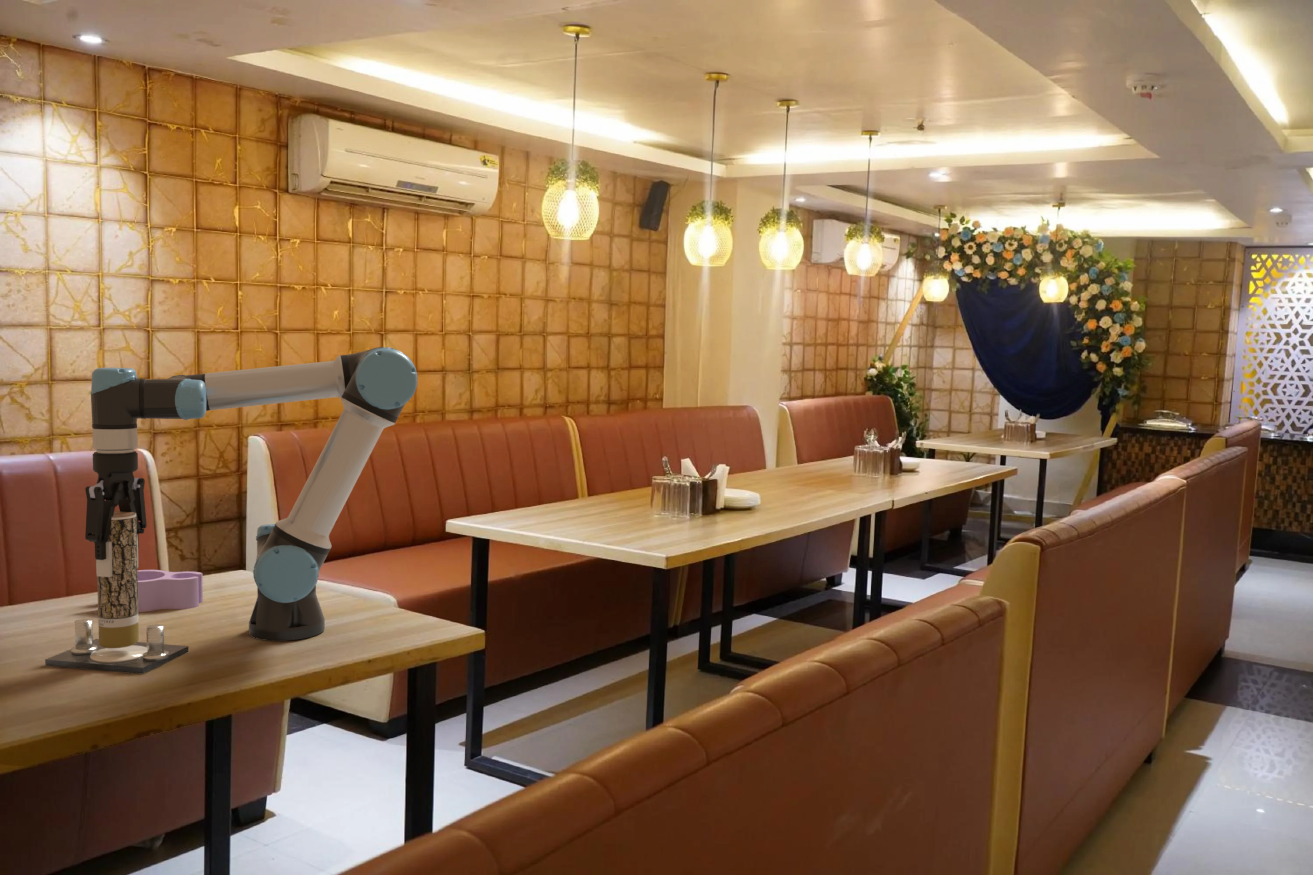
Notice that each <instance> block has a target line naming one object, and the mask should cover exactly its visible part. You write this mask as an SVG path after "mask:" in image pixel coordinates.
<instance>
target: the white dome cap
mask: <svg viewBox="0 0 1313 875" xmlns="http://www.w3.org/2000/svg"><path fill="white" fill-rule="evenodd" d="M145 652H147V648H146V647H143V646H135V645H132V646H128V647H123V648H104V649H101V650H98V651H95V652H93V653H92V654H91V655H90V659H91V660H93V661H96V662H103V663H114V662H125V661H130V660H135V659H139V658H141V657H143V653H145Z"/></svg>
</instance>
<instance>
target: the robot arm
mask: <svg viewBox="0 0 1313 875" xmlns="http://www.w3.org/2000/svg"><path fill="white" fill-rule="evenodd" d="M418 378H419V377H418V372H417V368H416V366H415V363H414V362H413V361H412V359H411V358H409V356H408V355H407V354H405V353H403V352H402V351H401V350H398V349H396V348H393V347H385V346H384V347H382V346H380V347H379V346H378V347H374V348H370V349H367V350H363V351H359V352H354V353H349V354H342V355H340V354H339V355H337V357H336V358H334V360H329V361H328V360H327V361H320V362H319V361H318V362H309V363H299V364H288V365H279V366H268V367H267V366H266V367H258V368H256V367H255V368H250V369H248V368H247V369H237V370H229V371H228V370H227V371H217V372H216V371H215V372H208V373H196V374H187V375H185V374H178V375H171V376H170V377H169V378H158V379H157V378H153V379H152V378H151V379H150V378H148V379H147V378H138V375H137V371H136V369H135V368H131V367H97V368H95V369H94V370H93V371H92V372H91V388H90V404H91V405H90V406H91V409H90V410H91V428H92V449H93V450H96V451H95V452H93V453H92V471H93V472H95V473H96V474H97V475H98V476H97V481H96V484H95V485H93V486H91V485H89V486H86V487H85V489H84V490H85V495H86V516H85V536H84V539H85V540H86V541H89V542H90V543H91V542H93V543H94V558H95V566H96V567H95V569H96V571H95V572H96V577H97V576H100V577H112V542H109V541H108V538H109V534H110V529H111V519H112V517H113V515H114V511H115V508H116V507H118V508H119V511H120V512H135V513H136V516H137V567H138V568H139V548H140V543H139V541H140V540H139V535H140V534H141V535H142V534H144V533H145V529H146V528H147V525H148V524H147V515H146V503H145V492H144V489H145V482H146V481H145V478H143V477H135V476H134V472H136V471H137V470H138V469H139V456H138V455H139V454H138V452H137V451H136V449H138V447H139V442H138V441H139V440H138V438H139V437H138V423H137V422H138V419H139V420H140V419H142V420H146V419H152V420H153V419H154V420H157V419H158V420H184V421H187V420H193V419H195V420H197V419H203V418H204V417H205V416H206V414H207V413H206V412H209V411H217V410H225V409H226V410H227V409H236V408H245V407H246V408H247V407H254V406H255V407H256V406H265V405H274V404H283V403H293V402H303V401H310V400H311V401H312V400H321V399H323V400H324V399H330V398H331V399H333V398H339V399H340V401H341V404H342V406H343V410H342V412H341V414H340V416H339V417H338V420H337V422H336V424H335V426H334V427H333V429H332V431H331V434H330V435H329V437H328V439H327V441H326V443H325V445H324V447H323V448H322V450H321V453H320V454H319V457H318V458H317V460H316V462H315V464H314V466H313V469H312V470H311V472H310V473H309V476H308V478H307V480H306V482H305V483H304V485H303V487H302V489H301V491H300V493H299V494H298V497H297V499H296V501H295V503H294V505H293V507H292V508H291V510H290V512H289V514H288V516H287V517H286V518H282V519H280V520H278V521H276V522H275V523H270V524H269V523H268V524H262V525H260V526H259V527H258V528H257V530H256V536H255V540H256V558H255V563H254V566H253V573H252V574H253V575H252V576H253V579H254V582H255V584H256V587H257V591H256V592H257V596H256V601H255V604H254V607H253V610H252V613H251V616H250V617H249V619H250V620H249V622H248V635H249V636H250V637H252V638H254V639H256V640H262V641H273V642H275V641H276V642H277V641H279V642H281V641H282V642H283V641H296V640H302V639H303V640H304V639H307V638H311V637H315V636H318V635H320V634H321V633H323V632H324V631H325V628H326V627H325V626H326V623H325V621H326V620H325V619H326V618H325V616H324V614H323V611H322V610H323V609H322V607H321V605H320V601H319V599H318V596H317V589H316V588H317V583H318V580H319V579H318V578H319V573H320V570H321V568H322V566H323V565H324V563H325V560H326V559H327V556H328V555H329V552H330V550H331V549H332V547H333V546H332V543H331V541H330V534H331V532H332V531H333V528H334V526H335V524H336V521H337V520H338V518H339V516H340V514H341V512H342V511H343V508H344V506H345V505H346V503H347V501H348V499H349V497H350V495H351V493H352V492H353V489H354V487H355V485H356V483H357V481H358V479H359V477H360V476H361V474H362V471H363V469H364V468H365V467H366V464H367V463H368V460H369V458H370V456H371V454H372V452H373V450H374V448H375V446H376V444H377V442H378V441H379V439H380V438H381V434H382V432H383V431H384V429H386V428H388V427H391V426H394V425H395V424H396V422H397V420H398V419H399V418H400V414H401V413H402V411H403V409H404V407H405V406H406V404H407V403H408V402H409V401H410V400H411V399H412V398H413V396H414V395H415V393H416V390H417V386H418Z"/></svg>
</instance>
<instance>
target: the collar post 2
mask: <svg viewBox="0 0 1313 875" xmlns="http://www.w3.org/2000/svg"><path fill="white" fill-rule="evenodd" d="M145 632H146V643H147V652H145V653H143V660H145V661H159V660H163V659H166V658H168V657H169V652H168V651H166V650H164V644H165V625H164V624H161V623H159V624H158V623H157V624H150V625H147V626H146V630H145Z"/></svg>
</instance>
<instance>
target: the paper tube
mask: <svg viewBox="0 0 1313 875" xmlns="http://www.w3.org/2000/svg"><path fill="white" fill-rule="evenodd" d="M108 541H109V542H112V577H100V576H96V578H97V579H96V582H97V589H96V590H97V618H98V619H97V625H98V626H97V627H98V639H99V644H100V645H101V646H102V647H104V648H123V647H128V646H132V645H134V644H136V643H137V642H139V640H140V639H139V638H140V637H139V630H140V629H139V612H138V568H139V566H138V567H137V516H136V513H135V512H120V510H118V511H115V510H114V515H113V517H112V519H111V529H110V534H109V538H108Z"/></svg>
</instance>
